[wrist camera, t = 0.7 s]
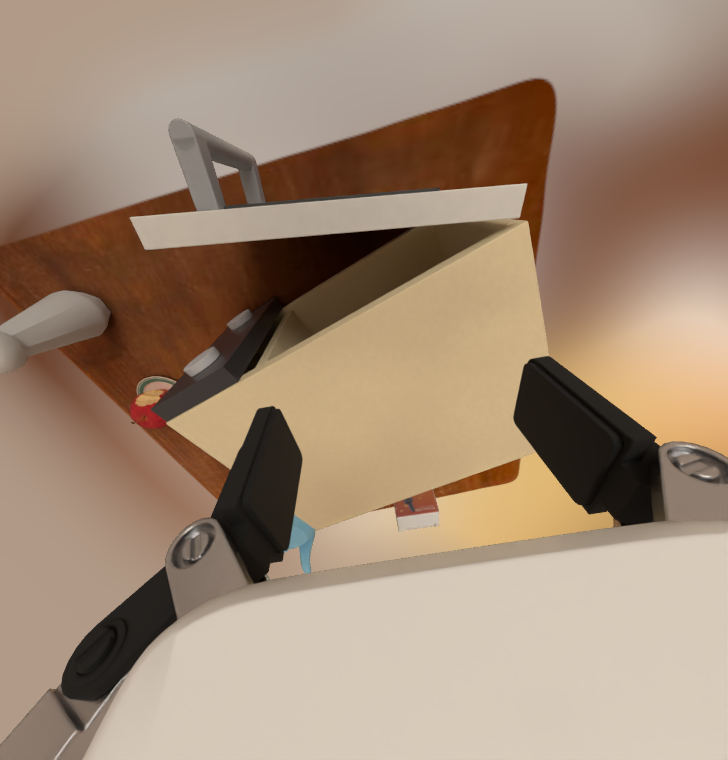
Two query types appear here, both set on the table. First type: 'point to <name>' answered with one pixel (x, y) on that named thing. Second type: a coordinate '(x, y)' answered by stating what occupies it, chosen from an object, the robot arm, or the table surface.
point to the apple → (149, 401)
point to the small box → (417, 511)
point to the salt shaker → (51, 326)
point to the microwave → (381, 369)
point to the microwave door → (300, 203)
